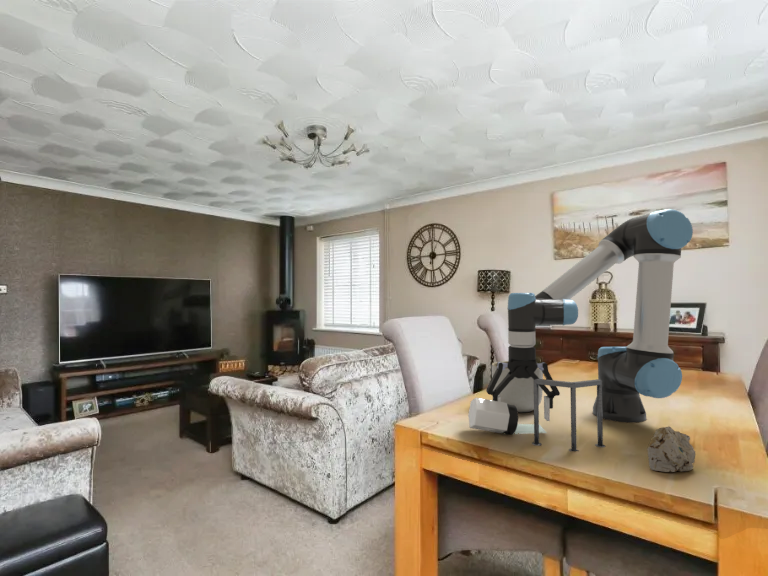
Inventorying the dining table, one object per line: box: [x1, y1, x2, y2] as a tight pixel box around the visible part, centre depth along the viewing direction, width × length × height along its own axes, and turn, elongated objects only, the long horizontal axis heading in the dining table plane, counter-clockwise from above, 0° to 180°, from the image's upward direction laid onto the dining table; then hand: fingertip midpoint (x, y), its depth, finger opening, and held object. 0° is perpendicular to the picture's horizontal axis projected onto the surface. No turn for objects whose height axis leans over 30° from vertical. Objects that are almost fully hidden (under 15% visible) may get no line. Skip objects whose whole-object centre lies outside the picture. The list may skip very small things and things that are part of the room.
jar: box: [467, 397, 519, 435], centre depth 115 cm, size 9×8×12 cm
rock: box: [646, 425, 697, 473], centre depth 91 cm, size 12×7×10 cm, turn 111°
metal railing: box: [531, 378, 606, 452], centre depth 103 cm, size 18×6×18 cm, turn 85°
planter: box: [491, 360, 544, 413], centre depth 141 cm, size 17×17×15 cm
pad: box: [514, 423, 548, 435], centre depth 117 cm, size 13×13×1 cm
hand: (522, 419), depth 117 cm, fingers open, 13 cm apart
